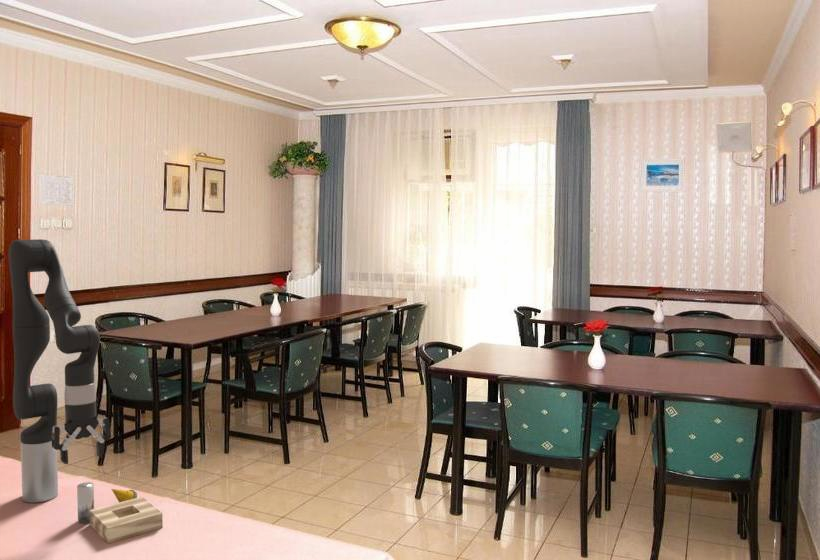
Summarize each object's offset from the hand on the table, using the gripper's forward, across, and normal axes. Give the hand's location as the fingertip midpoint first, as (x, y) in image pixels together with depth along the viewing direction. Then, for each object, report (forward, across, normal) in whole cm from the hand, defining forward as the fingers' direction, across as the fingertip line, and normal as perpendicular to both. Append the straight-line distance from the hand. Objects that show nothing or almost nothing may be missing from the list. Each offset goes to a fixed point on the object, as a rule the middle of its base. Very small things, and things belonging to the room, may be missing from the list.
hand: (82, 459), depth 183 cm
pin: (+17, 0, 0) cm, 17 cm away
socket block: (+17, -8, +10) cm, 21 cm away
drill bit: (+17, -11, -1) cm, 21 cm away
